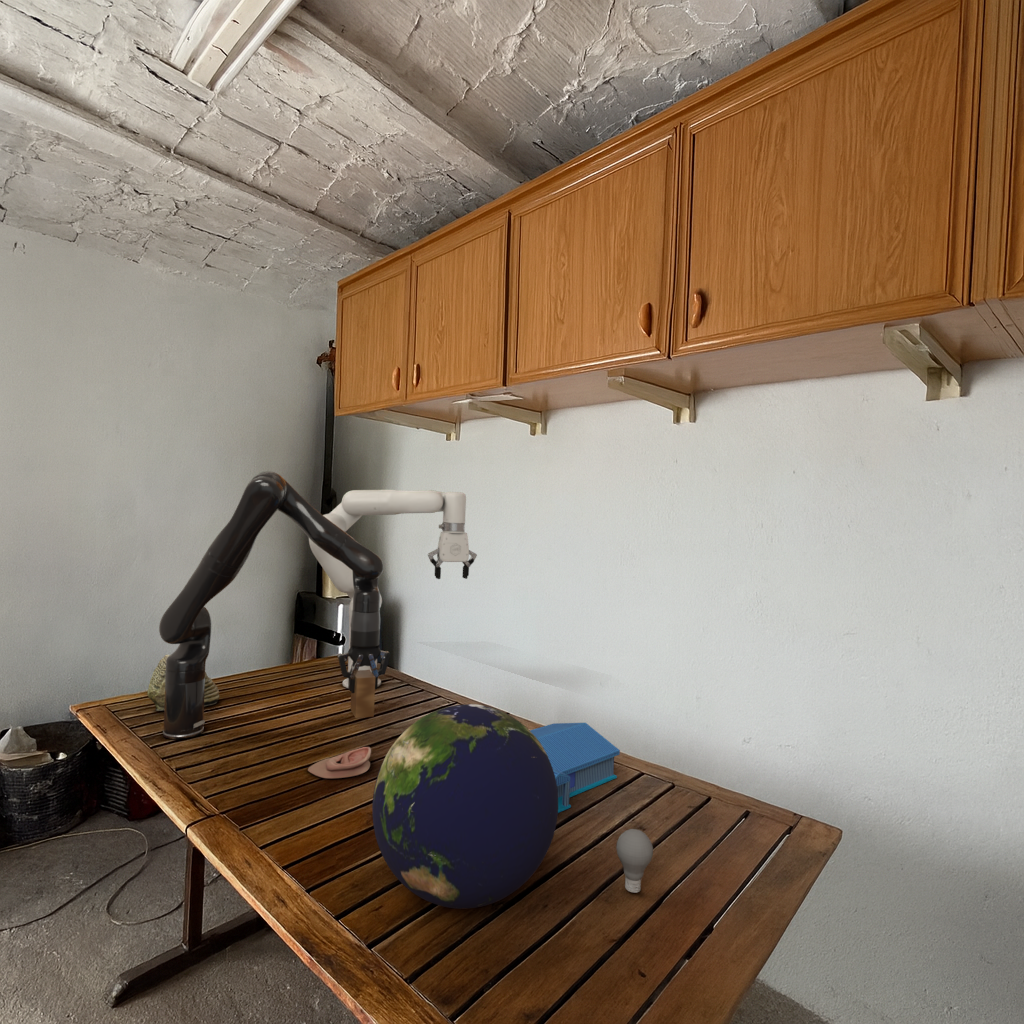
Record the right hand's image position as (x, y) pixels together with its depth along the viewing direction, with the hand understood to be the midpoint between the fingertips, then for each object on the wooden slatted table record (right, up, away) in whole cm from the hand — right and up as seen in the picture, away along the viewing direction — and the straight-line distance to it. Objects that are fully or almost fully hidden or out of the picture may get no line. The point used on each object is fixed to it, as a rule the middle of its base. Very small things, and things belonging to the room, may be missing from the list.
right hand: (451, 578), depth 216 cm
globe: (+12, -40, -112) cm, 120 cm away
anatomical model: (-20, -37, -68) cm, 80 cm away
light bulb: (+41, -41, -110) cm, 124 cm away
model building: (+25, -39, -73) cm, 87 cm away
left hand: (-19, -25, -48) cm, 57 cm away
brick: (-19, -31, -48) cm, 60 cm away
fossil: (-75, -34, -31) cm, 88 cm away
